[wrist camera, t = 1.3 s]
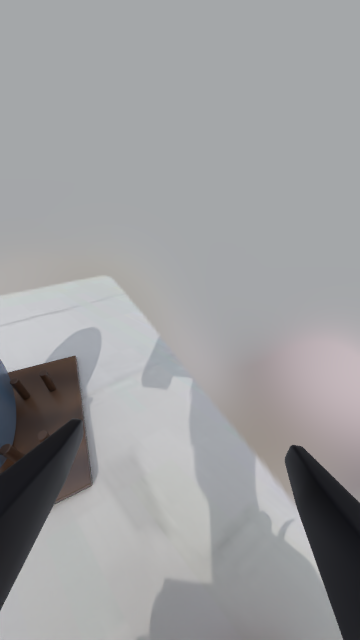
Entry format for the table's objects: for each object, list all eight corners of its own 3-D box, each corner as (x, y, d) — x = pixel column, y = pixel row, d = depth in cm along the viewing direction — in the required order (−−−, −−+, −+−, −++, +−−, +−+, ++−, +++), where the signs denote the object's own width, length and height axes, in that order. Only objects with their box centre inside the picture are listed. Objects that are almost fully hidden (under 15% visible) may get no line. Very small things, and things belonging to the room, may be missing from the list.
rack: (92, 485, 19) (83, 474, 16) (-126, 594, 14) (-197, 605, 11) (76, 358, 30) (69, 338, 27) (-52, 392, 24) (-78, 371, 21)
